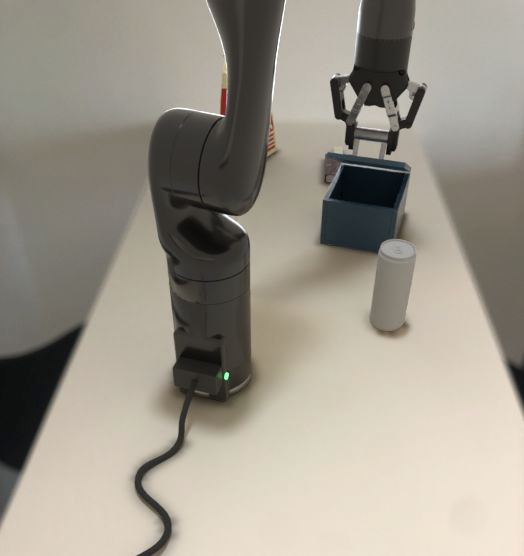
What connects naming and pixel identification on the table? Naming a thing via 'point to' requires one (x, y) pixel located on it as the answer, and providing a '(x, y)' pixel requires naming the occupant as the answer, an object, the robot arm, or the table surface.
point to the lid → (373, 136)
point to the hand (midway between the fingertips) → (370, 150)
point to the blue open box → (363, 207)
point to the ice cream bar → (332, 165)
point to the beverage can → (392, 284)
